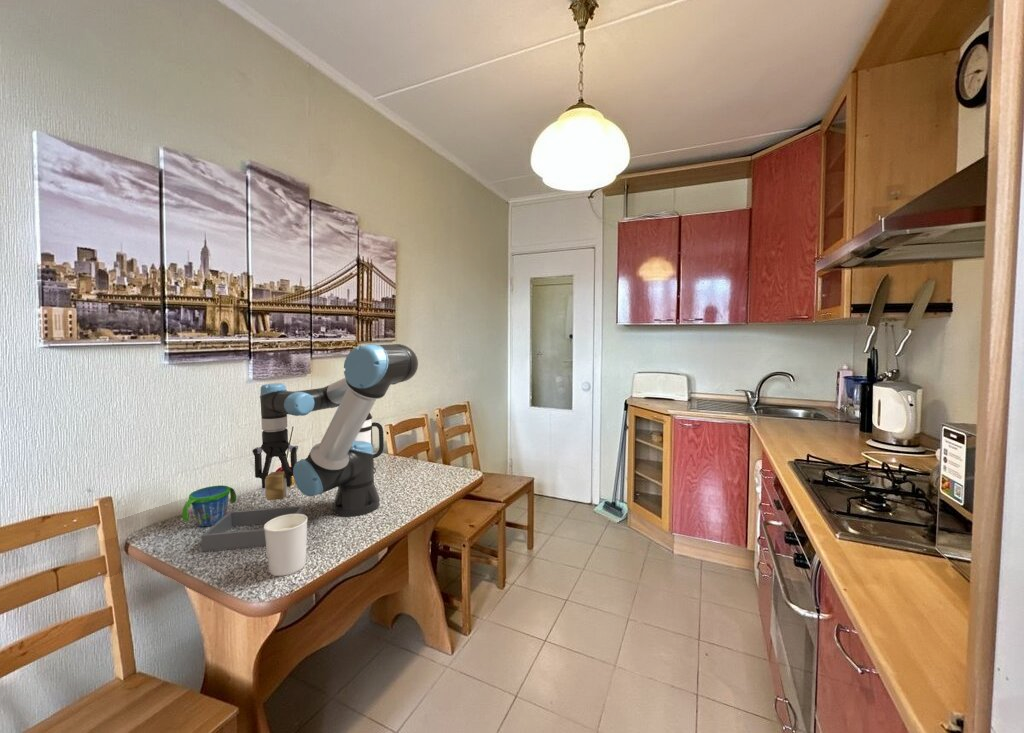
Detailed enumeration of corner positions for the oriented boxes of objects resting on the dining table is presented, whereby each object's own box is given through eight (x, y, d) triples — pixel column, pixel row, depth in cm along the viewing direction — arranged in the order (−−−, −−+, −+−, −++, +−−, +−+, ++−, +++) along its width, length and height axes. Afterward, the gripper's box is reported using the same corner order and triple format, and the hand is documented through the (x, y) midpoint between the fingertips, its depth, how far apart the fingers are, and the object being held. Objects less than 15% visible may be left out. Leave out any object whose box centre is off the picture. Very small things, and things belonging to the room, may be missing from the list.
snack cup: (193, 536, 120) (191, 503, 119) (173, 529, 124) (171, 497, 123) (246, 515, 134) (245, 485, 133) (227, 509, 138) (225, 480, 137)
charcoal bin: (305, 518, 131) (304, 505, 130) (288, 543, 115) (287, 528, 115) (229, 525, 126) (229, 511, 126) (201, 551, 111) (200, 536, 110)
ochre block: (288, 493, 140) (287, 471, 139) (282, 499, 135) (282, 476, 135) (272, 494, 139) (271, 472, 138) (266, 500, 134) (265, 477, 134)
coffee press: (372, 478, 168) (370, 408, 166) (334, 479, 168) (331, 408, 166) (384, 465, 186) (383, 401, 183) (350, 465, 185) (347, 401, 183)
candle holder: (288, 554, 109) (286, 511, 108) (317, 559, 106) (316, 516, 106) (256, 574, 100) (253, 528, 99) (287, 581, 97) (285, 533, 96)
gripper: (307, 425, 141) (309, 490, 143) (250, 427, 137) (253, 493, 139) (300, 430, 134) (302, 498, 135) (240, 433, 130) (243, 502, 132)
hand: (277, 496), depth 137 cm, fingers closed on ochre block, 5 cm apart
